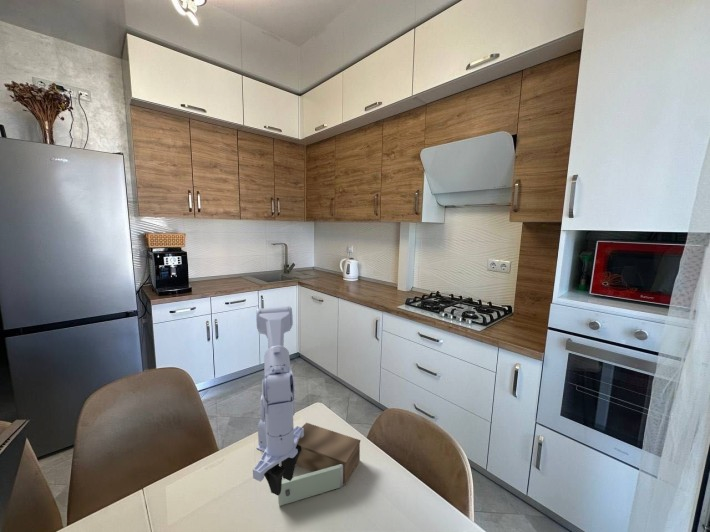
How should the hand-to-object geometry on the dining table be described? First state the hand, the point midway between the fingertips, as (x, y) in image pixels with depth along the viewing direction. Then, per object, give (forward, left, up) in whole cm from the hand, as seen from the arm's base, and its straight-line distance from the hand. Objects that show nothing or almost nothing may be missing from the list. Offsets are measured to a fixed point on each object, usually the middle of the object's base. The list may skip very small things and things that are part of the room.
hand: (281, 485), depth 65 cm
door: (+2, +8, -9) cm, 13 cm away
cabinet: (-1, +20, -9) cm, 22 cm away
